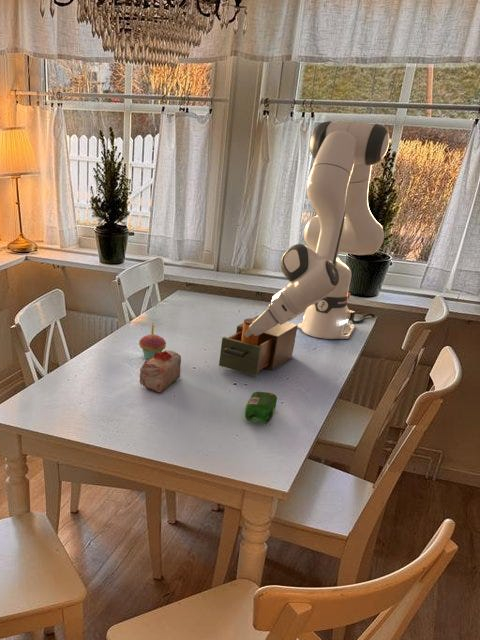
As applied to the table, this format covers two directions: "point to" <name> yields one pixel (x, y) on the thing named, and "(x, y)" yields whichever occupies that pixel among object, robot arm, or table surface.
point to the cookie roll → (251, 338)
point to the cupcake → (152, 344)
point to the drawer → (246, 354)
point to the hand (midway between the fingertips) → (248, 331)
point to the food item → (160, 370)
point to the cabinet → (279, 342)
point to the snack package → (260, 407)
